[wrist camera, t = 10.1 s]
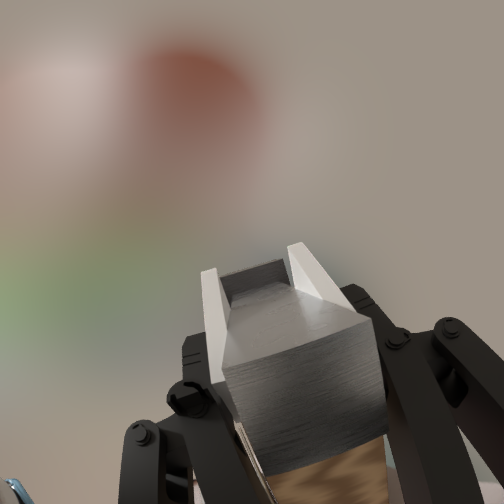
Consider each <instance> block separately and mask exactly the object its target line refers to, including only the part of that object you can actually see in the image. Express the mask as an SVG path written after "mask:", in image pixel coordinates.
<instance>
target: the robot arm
mask: <svg viewBox="0 0 504 504" xmlns="http://www.w3.org/2000/svg"><path fill="white" fill-rule="evenodd" d="M287 248H288V253H289V259H290V263H291V269H292V275H293V279H294V285H295V288H296V289H298V290H300V291H303V292H305V293H308V294H310V295H312V296H315V297H317V298H320V299H322V300H326V301H329V302H331V303H334V304H336V305H339V306H341V307H344V308H346V309H349V310H351V311H354V312H356V313H359V314H362V315H364V316H367V317H369V318H371V319H372V324H373V329H374V334H375V339H376V344H377V349H378V354H379V360H380V366H381V372H382V378H383V384H384V391H385V398H386V406H387V414H388V422H389V432H388V433H386V434H387V438H388V441H389V444H390V448H391V451H392V455H393V458H394V462H395V466H396V470H397V473H398V477H399V481H400V485H401V489H402V493H403V498H404V502H405V504H484V500H483V497H482V493H481V490H480V487H479V483H478V480H477V477H476V474H475V471H474V468H473V465H472V463H471V460H470V457H469V454H468V452H467V449H466V446H465V444H464V442H463V439H462V436H461V434H460V431H459V429H458V427H459V428H460V429H461V431H462V432H463V433H464V435H465V436H466V437H467V439H468V440H469V441H470V443H471V444H472V445H473V447H474V448H475V449H476V451H477V452H478V453H479V454H480V456H481V457H482V459H483V460H484V461H485V463H486V464H487V466H488V467H489V468H490V470H491V471H492V473H493V474H494V476H495V477H496V479H497V480H498V481H499V483H500V484H501V486H502V487H503V489H504V361H503V360H502V359H501V358H500V357H499V356H498V355H497V354H496V353H495V352H494V351H493V350H492V349H491V348H490V347H489V346H488V345H487V344H486V343H485V342H484V341H482V339H480V338H479V337H478V336H477V335H476V334H475V333H474V332H473V331H472V330H471V329H470V328H469V327H467V326H466V325H465V324H464V323H463V322H462V321H460V320H458V319H456V318H453V317H445V318H442V319H440V320H439V321H438V322H437V323H436V324H435V327H434V330H430V331H425V332H420V333H410V332H409V331H408V330H406V329H404V328H399V327H396V326H395V325H394V324H393V323H392V322H391V320H390V319H389V318H388V317H387V316H386V314H385V313H384V312H383V311H382V310H381V309H380V307H379V306H378V305H377V304H375V302H374V300H373V299H371V298H370V296H369V295H368V293H367V292H366V291H365V290H364V289H363V288H361V287H359V286H357V285H355V284H351V285H348V286H345V287H343V288H340V289H339V288H338V287H337V286H336V285H335V283H334V282H333V280H332V279H331V278H330V277H329V275H328V274H327V273H326V271H325V270H324V269H323V268H322V266H321V265H320V264H319V263H318V262H317V260H316V259H315V258H314V256H313V255H312V254H311V252H310V251H309V250H308V249H307V248H306V246H305V245H304V244H303V243H302V242H300V243H296V244H293V245H290V246H287ZM201 283H202V296H203V308H204V320H205V329H206V332H202V333H199V334H195V335H192V336H187V337H186V340H185V342H184V344H183V346H182V357H183V359H182V365H183V367H182V368H183V380H181V381H179V382H177V383H175V385H173V386H172V387H171V388H170V390H169V392H168V394H167V403H168V405H169V406H170V407H171V408H172V409H173V410H174V412H175V413H174V414H173V415H172V416H170V417H168V418H166V419H164V420H162V421H160V422H158V423H156V424H155V423H153V422H152V421H150V420H140V421H136V422H135V423H133V424H132V425H131V426H130V427H129V428H128V429H127V431H126V434H125V437H124V445H123V453H122V462H121V472H120V473H121V474H120V484H119V498H118V504H194V487H193V470H194V473H195V476H196V479H197V482H198V485H199V488H200V491H201V494H202V496H203V499H204V502H205V504H272V503H271V501H270V499H269V497H268V495H267V493H266V491H265V489H264V487H263V485H262V483H261V481H260V479H259V477H258V475H257V473H256V471H255V469H254V467H253V465H252V463H251V461H250V458H249V456H248V454H247V452H246V450H245V448H244V445H243V443H242V441H241V439H240V436H239V435H238V433H237V431H236V430H235V427H234V421H235V422H236V423H239V422H242V421H241V419H240V416H239V414H238V411H237V409H236V406H235V404H234V401H233V399H232V396H231V394H230V391H229V388H228V386H227V383H226V380H225V378H224V375H223V372H222V369H221V368H222V362H223V355H224V348H225V342H226V335H227V329H228V322H229V316H230V310H231V308H230V306H229V303H228V300H227V297H226V295H225V292H224V289H223V286H222V283H221V280H220V278H219V275H218V272H217V269H216V268H213V269H210V270H206V271H203V272H201ZM233 419H234V421H233ZM0 504H34V502H33V501H32V499H31V498H30V497H29V495H28V494H27V492H26V490H25V489H24V488H23V486H22V484H21V483H20V482H19V481H18V480H17V479H6V480H5V481H4V480H3V479H2V478H1V477H0Z"/></svg>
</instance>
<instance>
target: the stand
mask: <svg viewBox="0 0 504 504" xmlns="http://www.w3.org/2000/svg"><path fill="white" fill-rule="evenodd" d="M241 423H242V422H241ZM242 425H243V424H242ZM243 428H244V426H243ZM244 430H245V429H244ZM245 433H246V431H245ZM246 435H247V434H246ZM247 437H248V436H247ZM248 439H249V438H248ZM249 442H250V441H249ZM250 444H251V443H250ZM251 446H252V445H251ZM253 451H254V450H253ZM254 453H255V452H254ZM256 458H257V457H256ZM257 460H258V459H257ZM258 462H259V461H258ZM261 469H262V468H261ZM262 471H263V470H262ZM266 479H267V481H268V484H269V486H270V488H271V490H272V492H273V494H274V496H275V498H276V500H277V502H278V504H389V499H388V481H387V468H386V458H385V449H384V439H383V435H382V436H380V437H378V438H376V439H374V440H372V441H370V442H367V443H365V444H363V445H361V446H358V447H356V448H354V449H351V450H349V451H347V452H344V453H342V454H339V455H337V456H334V457H331V458H329V459H326V460H323V461H320V462H317V463H314V464H311V465H308V466H305V467H302V468H299V469H295V470H292V471H289V472H285V473H281V474H278V475H274V476H270V477H266Z"/></svg>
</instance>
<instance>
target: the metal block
mask: <svg viewBox="0 0 504 504" xmlns="http://www.w3.org/2000/svg"><path fill="white" fill-rule="evenodd" d="M219 278H220V280H221V283H222V286H223V289H224V292H225V295H226V297H227V300H228V303H229V306H230V308H231V310H230V316H229V322H228V329H227V335H226V342H225V348H224V355H223V362H222V368H221V369H222V372H223V375H224V378H225V380H226V383H227V386H228V388H229V391H230V394H231V396H232V399H233V401H234V404H235V406H236V409H237V411H238V414H239V416H240V419H241V421H242V424H243V426H244V429H245V431H246V434H247V436H248V438H249V441H250V443H251V445H252V448H253V450H254V452H255V455H256V457H257V459H258V461H259V464H260V466H261V468H262V470H263V473H264V475H265V477H270V476H274V475H278V474H281V473H285V472H289V471H292V470H295V469H299V468H302V467H305V466H308V465H311V464H314V463H317V462H320V461H323V460H326V459H329V458H331V457H334V456H337V455H339V454H342V453H344V452H347V451H349V450H351V449H354V448H356V447H358V446H361V445H363V444H365V443H367V442H370V441H372V440H374V439H376V438H378V437H380V436H382V435H384V434H386V433H388V432H389V422H388V414H387V406H386V398H385V391H384V384H383V378H382V372H381V366H380V360H379V354H378V349H377V344H376V339H375V334H374V329H373V324H372V319H371V318H369V317H367V316H364V315H362V314H359V313H356V312H354V311H351V310H349V309H346V308H344V307H341V306H339V305H336V304H334V303H331V302H329V301H326V300H322V299H320V298H317V297H315V296H312V295H310V294H308V293H305V292H303V291H300V290H298V289H296V288H294V287H292V286H291V285H290V282H289V278H288V275H287V271H286V268H285V265H284V262H283V259H276V260H272V261H268V262H265V263H262V264H258V265H255V266H252V267H249V268H245V269H242V270H239V271H235V272H232V273H229V274H225V275H222V276H220V277H219Z"/></svg>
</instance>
